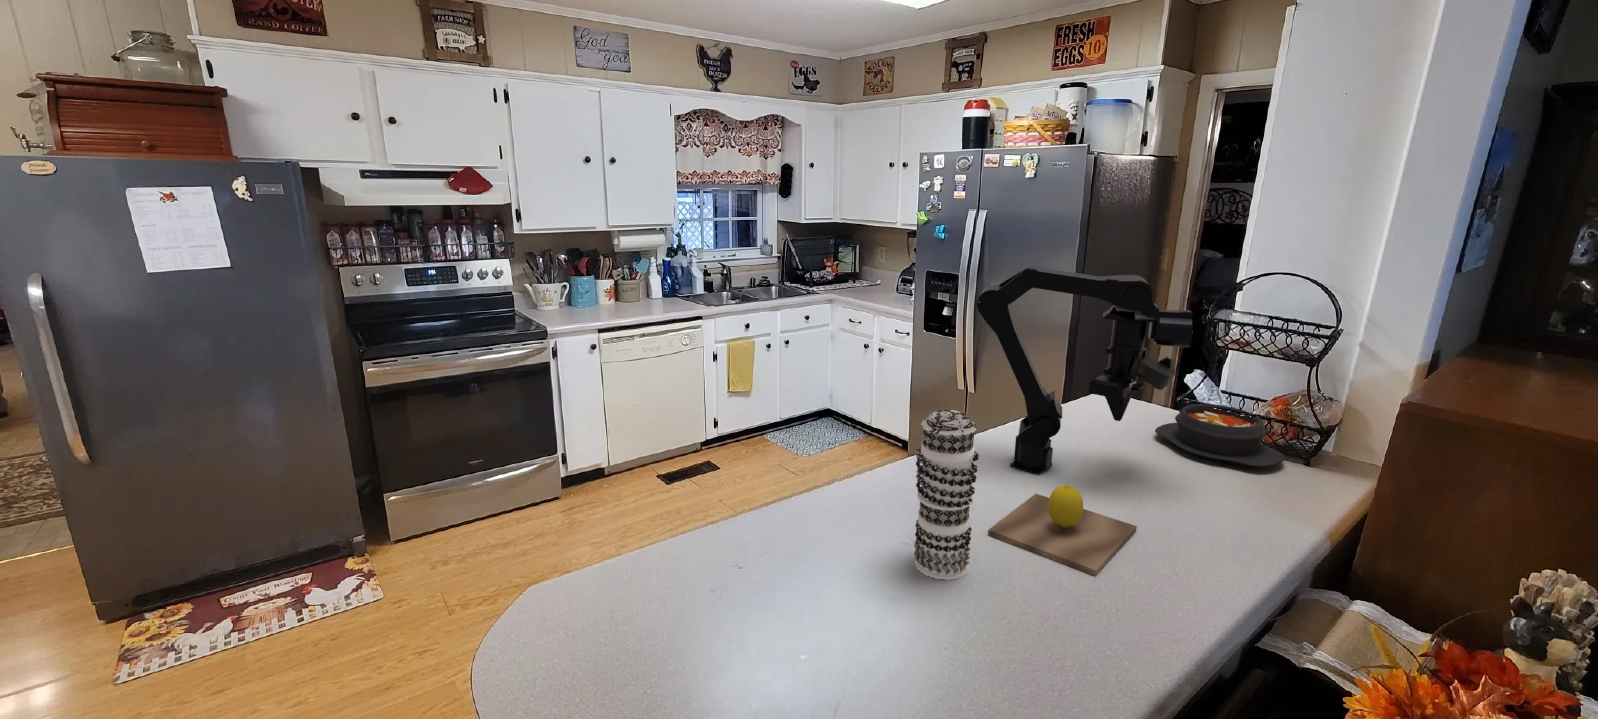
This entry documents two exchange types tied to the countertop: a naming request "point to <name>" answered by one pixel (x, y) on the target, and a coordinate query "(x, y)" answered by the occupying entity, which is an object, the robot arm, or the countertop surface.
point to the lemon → (1065, 506)
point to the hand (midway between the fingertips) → (1117, 420)
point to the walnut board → (1064, 535)
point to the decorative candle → (945, 494)
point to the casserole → (1221, 435)
